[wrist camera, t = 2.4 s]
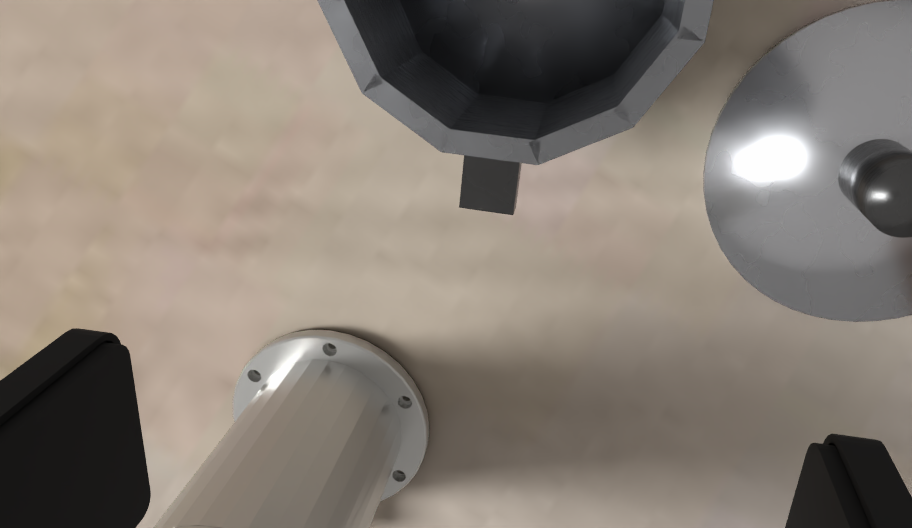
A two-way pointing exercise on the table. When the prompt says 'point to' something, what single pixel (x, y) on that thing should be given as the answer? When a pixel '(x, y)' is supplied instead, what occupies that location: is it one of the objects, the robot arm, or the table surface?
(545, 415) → the table surface
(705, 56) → the table surface
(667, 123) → the table surface
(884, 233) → the lid
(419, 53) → the pot
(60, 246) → the table surface
